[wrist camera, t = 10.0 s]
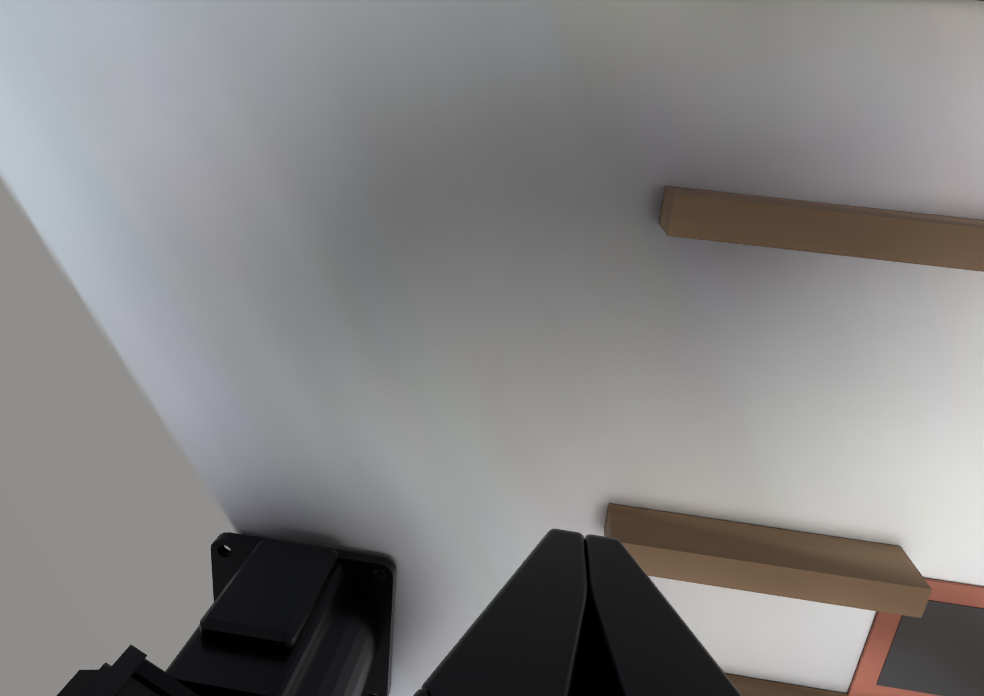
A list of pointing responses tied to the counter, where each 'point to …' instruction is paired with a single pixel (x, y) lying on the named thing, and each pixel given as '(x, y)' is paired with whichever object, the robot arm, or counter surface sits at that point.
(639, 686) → the robot arm
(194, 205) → the counter surface
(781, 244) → the brown bars
